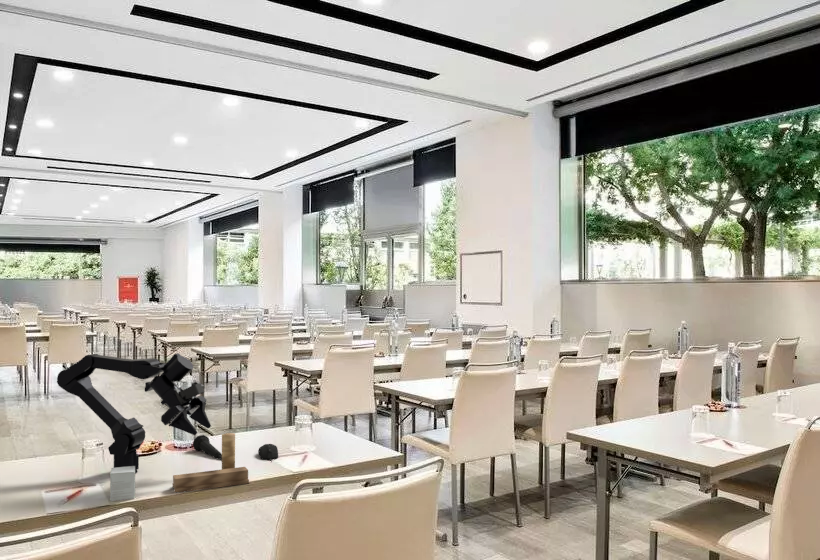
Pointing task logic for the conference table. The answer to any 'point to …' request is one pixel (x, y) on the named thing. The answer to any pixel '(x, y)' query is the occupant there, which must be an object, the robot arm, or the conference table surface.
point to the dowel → (228, 450)
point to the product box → (122, 483)
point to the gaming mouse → (268, 452)
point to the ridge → (210, 479)
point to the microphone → (206, 446)
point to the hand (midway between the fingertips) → (203, 430)
